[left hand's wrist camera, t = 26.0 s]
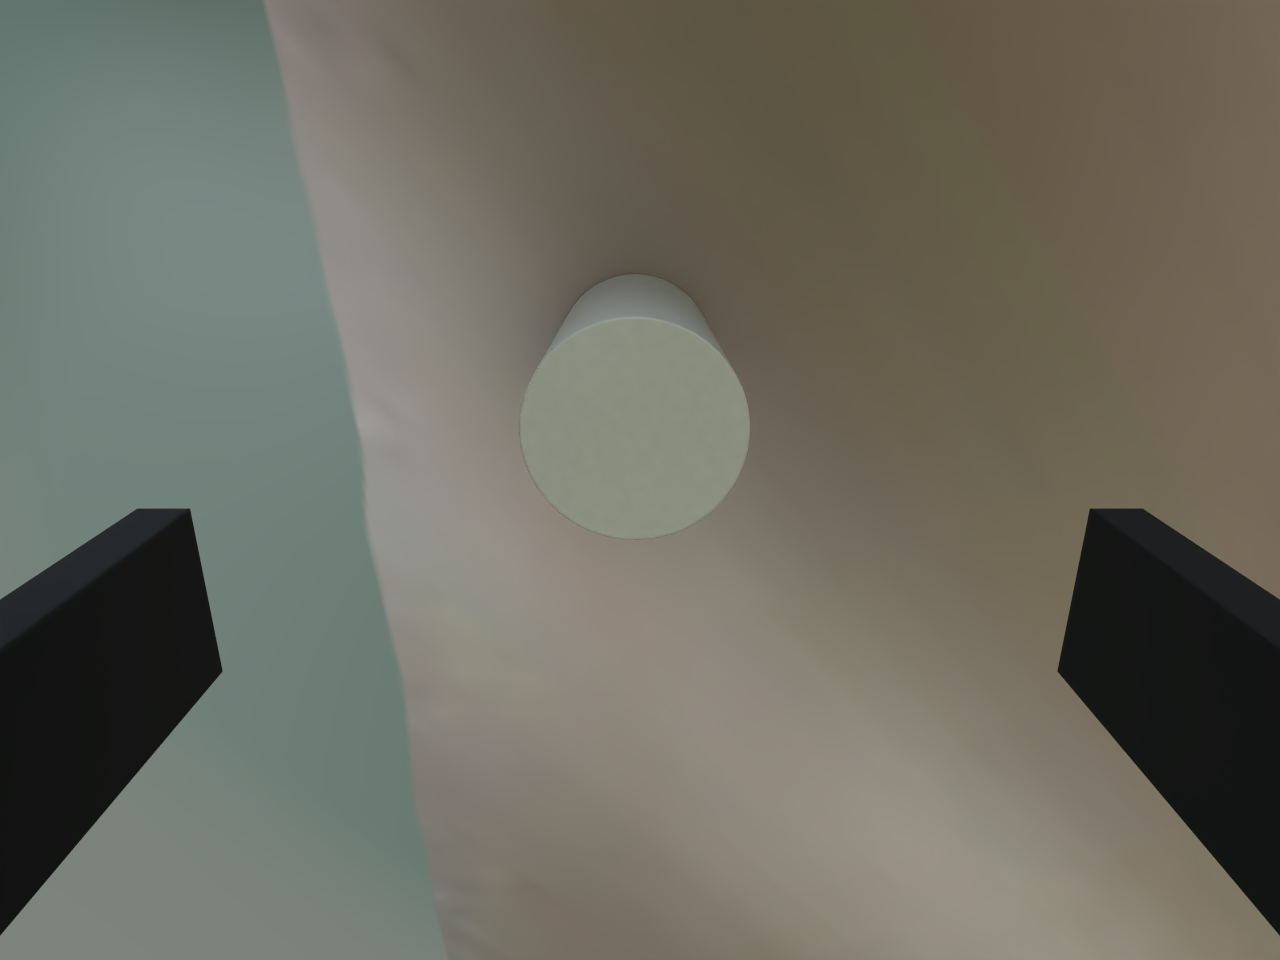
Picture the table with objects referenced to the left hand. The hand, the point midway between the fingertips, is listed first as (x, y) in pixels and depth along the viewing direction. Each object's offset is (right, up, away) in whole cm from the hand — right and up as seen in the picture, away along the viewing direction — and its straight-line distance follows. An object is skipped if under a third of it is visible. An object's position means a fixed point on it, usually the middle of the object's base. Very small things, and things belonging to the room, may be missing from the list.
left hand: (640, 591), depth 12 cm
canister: (0, +7, +22) cm, 23 cm away
